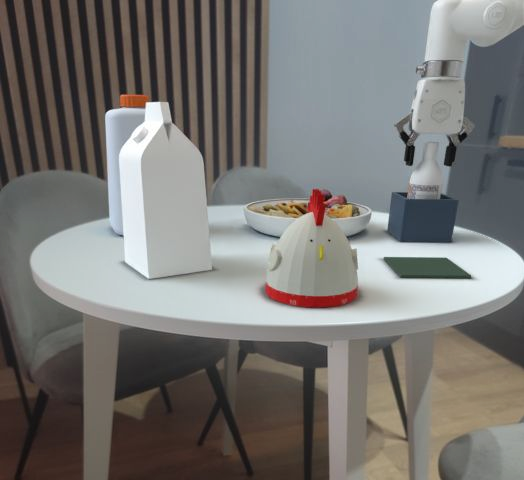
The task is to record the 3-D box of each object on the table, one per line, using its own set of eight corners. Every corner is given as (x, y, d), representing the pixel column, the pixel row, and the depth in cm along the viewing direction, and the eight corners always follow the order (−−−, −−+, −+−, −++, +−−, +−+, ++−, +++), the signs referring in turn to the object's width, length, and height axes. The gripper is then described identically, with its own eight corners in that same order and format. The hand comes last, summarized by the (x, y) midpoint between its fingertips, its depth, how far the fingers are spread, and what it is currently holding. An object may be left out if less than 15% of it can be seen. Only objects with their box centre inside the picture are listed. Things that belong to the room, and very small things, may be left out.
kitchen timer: (270, 308, 69) (273, 196, 63) (261, 279, 81) (262, 183, 75) (368, 306, 70) (380, 197, 64) (344, 278, 83) (352, 184, 76)
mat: (445, 260, 95) (446, 257, 94) (470, 278, 84) (471, 275, 84) (383, 259, 94) (383, 256, 94) (400, 277, 84) (400, 274, 83)
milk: (212, 269, 86) (207, 102, 75) (148, 279, 81) (133, 100, 70) (183, 254, 95) (176, 103, 84) (125, 262, 90) (108, 101, 79)
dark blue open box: (434, 231, 119) (440, 192, 115) (451, 242, 109) (459, 199, 105) (387, 231, 119) (391, 192, 115) (399, 241, 108) (405, 199, 105)
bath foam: (409, 231, 118) (422, 141, 110) (438, 236, 114) (453, 142, 106) (397, 236, 113) (409, 141, 105) (426, 241, 109) (441, 143, 101)
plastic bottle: (184, 234, 112) (178, 95, 100) (116, 238, 107) (100, 92, 95) (170, 222, 125) (163, 97, 113) (108, 225, 120) (93, 95, 108)
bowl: (354, 248, 102) (358, 209, 99) (222, 235, 112) (222, 199, 108) (379, 223, 127) (383, 191, 124) (270, 214, 137) (271, 184, 134)
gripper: (404, 70, 96) (392, 166, 104) (492, 72, 97) (475, 167, 104) (394, 73, 103) (384, 163, 110) (477, 75, 103) (461, 164, 111)
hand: (428, 165), depth 107 cm, fingers open, 7 cm apart
